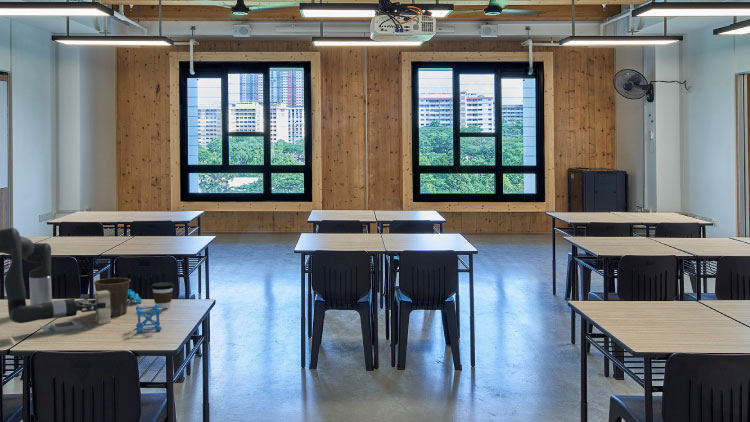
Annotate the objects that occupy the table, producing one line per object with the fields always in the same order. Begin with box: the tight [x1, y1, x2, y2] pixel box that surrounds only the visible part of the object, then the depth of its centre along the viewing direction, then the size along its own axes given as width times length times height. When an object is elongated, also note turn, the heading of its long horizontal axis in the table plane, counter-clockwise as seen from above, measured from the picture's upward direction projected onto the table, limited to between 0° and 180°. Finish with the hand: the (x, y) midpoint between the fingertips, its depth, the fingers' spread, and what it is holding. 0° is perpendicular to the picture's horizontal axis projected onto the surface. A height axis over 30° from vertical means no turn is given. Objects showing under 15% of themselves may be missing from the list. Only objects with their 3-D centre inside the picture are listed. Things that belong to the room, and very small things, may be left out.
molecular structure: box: [135, 304, 162, 334], centre depth 269 cm, size 10×10×10 cm
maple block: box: [94, 290, 112, 325], centre depth 277 cm, size 5×5×14 cm
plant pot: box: [93, 277, 131, 317], centre depth 295 cm, size 16×16×16 cm
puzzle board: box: [40, 320, 90, 336], centre depth 267 cm, size 16×16×2 cm
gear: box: [127, 288, 143, 305], centre depth 317 cm, size 11×6×10 cm
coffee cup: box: [150, 281, 175, 308], centre depth 307 cm, size 11×11×12 cm
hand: (102, 303), depth 277 cm, fingers open, 8 cm apart
